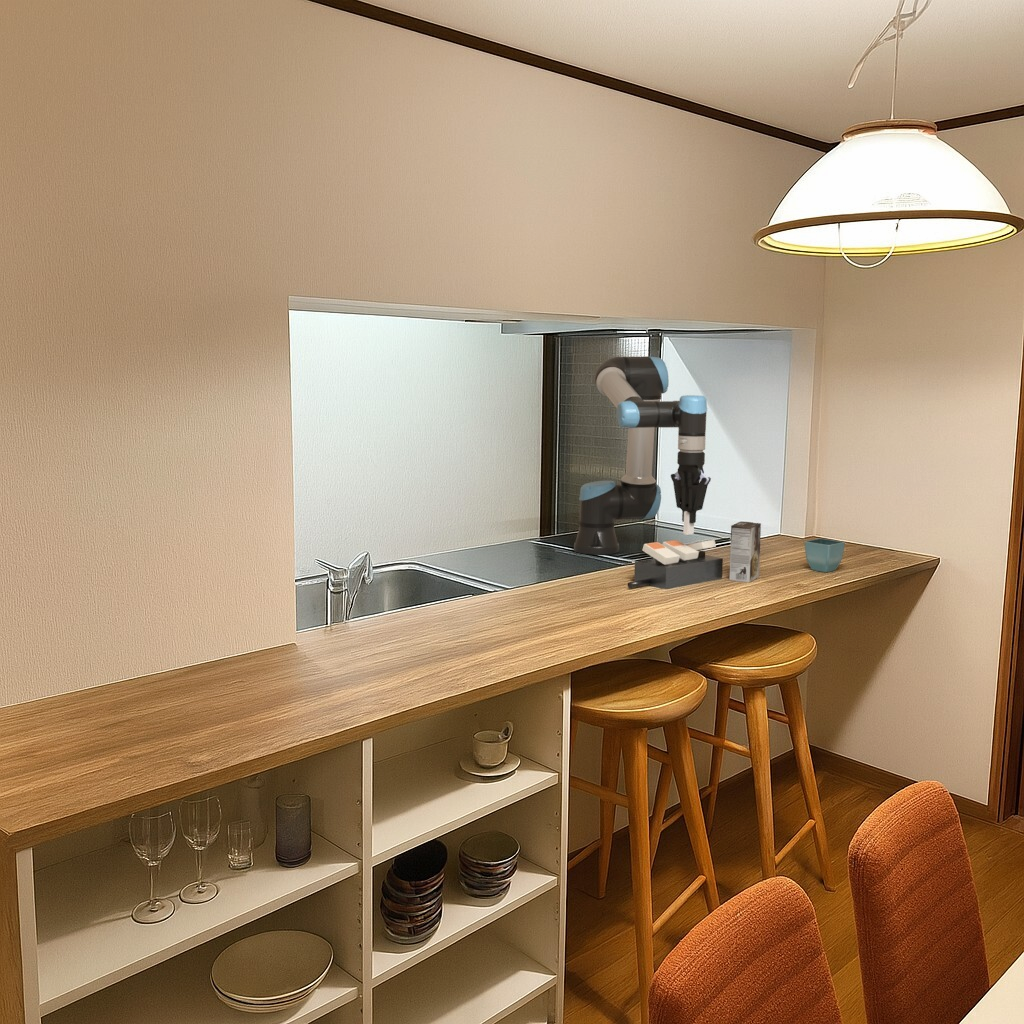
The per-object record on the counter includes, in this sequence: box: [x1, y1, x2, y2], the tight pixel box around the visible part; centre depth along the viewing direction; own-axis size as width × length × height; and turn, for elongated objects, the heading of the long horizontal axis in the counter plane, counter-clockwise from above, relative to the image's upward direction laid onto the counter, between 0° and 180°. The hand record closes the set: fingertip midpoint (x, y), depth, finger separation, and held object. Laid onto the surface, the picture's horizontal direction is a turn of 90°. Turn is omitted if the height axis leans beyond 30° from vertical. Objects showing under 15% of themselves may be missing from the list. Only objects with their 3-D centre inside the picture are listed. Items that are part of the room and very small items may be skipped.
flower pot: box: [804, 538, 846, 573], centre depth 296 cm, size 9×9×9 cm
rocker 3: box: [686, 539, 717, 551], centre depth 285 cm, size 9×6×2 cm, turn 38°
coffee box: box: [728, 521, 762, 583], centre depth 283 cm, size 9×6×16 cm
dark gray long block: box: [627, 550, 724, 590], centre depth 278 cm, size 12×32×7 cm, turn 129°
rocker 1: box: [642, 541, 680, 565], centre depth 274 cm, size 9×6×2 cm, turn 39°
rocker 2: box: [661, 539, 699, 560], centre depth 279 cm, size 9×6×2 cm, turn 39°
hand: (688, 533), depth 277 cm, fingers closed
